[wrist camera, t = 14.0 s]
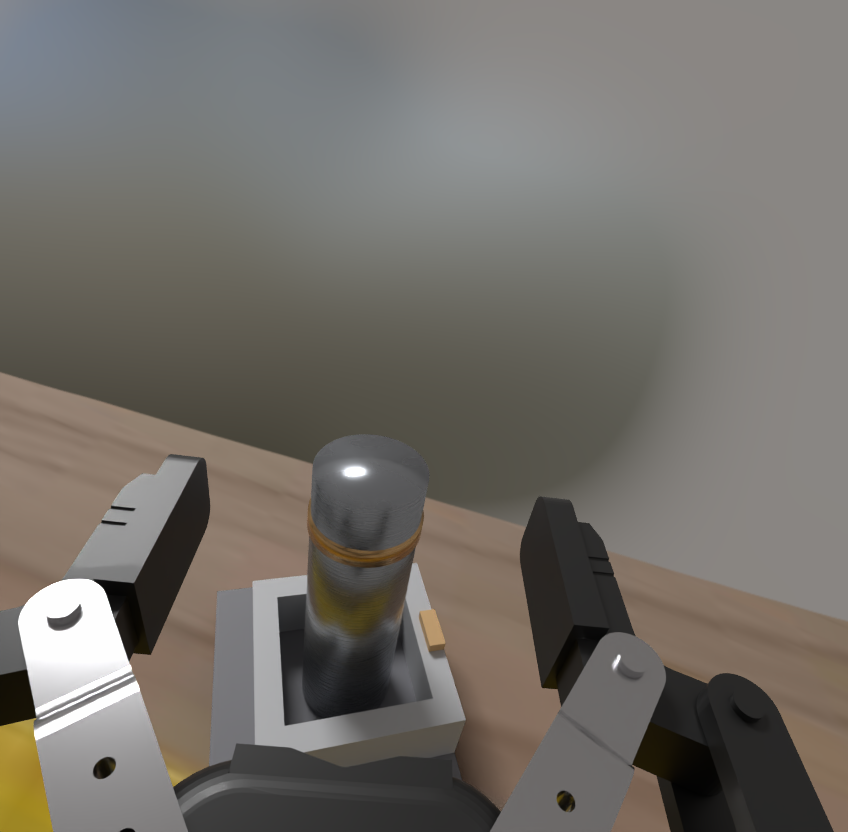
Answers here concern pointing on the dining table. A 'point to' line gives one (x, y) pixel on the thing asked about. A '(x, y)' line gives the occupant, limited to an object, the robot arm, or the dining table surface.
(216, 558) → the dining table surface
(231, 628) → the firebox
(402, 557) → the metal canister
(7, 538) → the dining table surface
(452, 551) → the dining table surface
